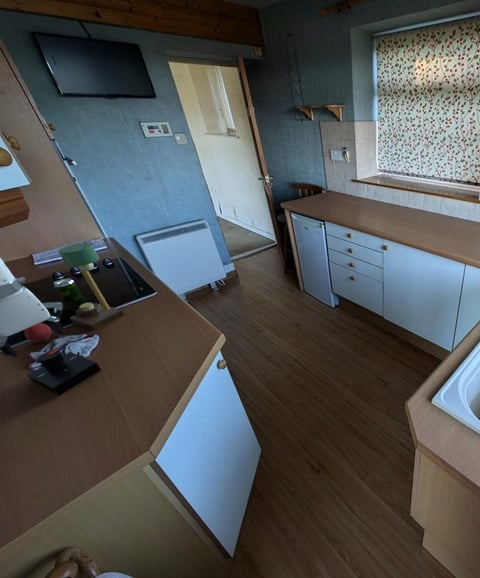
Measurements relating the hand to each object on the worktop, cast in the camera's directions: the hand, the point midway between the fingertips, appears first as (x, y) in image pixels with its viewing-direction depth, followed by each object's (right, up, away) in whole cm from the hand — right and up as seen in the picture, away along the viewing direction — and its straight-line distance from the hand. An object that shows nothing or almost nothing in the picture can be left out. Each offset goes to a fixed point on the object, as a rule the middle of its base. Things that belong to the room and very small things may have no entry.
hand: (37, 343), depth 80 cm
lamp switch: (-16, +8, +29) cm, 34 cm away
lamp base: (-12, +4, +30) cm, 32 cm away
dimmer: (+2, -10, +5) cm, 12 cm away
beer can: (-27, +7, +36) cm, 46 cm away
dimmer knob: (+1, -7, +4) cm, 9 cm away
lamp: (-5, +7, +27) cm, 28 cm away
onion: (-20, -3, +19) cm, 28 cm away
